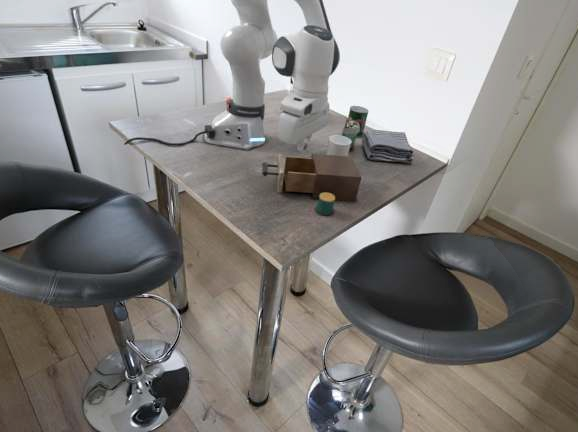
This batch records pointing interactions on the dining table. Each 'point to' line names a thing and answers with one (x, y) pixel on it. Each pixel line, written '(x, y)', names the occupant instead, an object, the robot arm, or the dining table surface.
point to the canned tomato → (358, 117)
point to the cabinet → (336, 176)
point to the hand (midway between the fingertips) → (302, 149)
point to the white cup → (338, 145)
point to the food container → (351, 131)
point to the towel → (387, 146)
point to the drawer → (294, 173)
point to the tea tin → (325, 203)
